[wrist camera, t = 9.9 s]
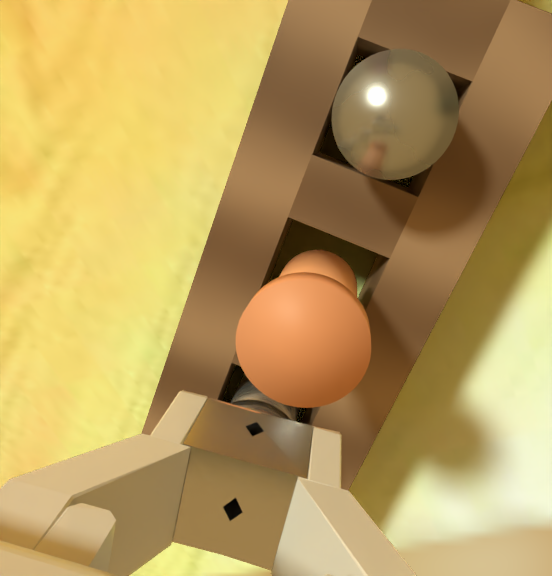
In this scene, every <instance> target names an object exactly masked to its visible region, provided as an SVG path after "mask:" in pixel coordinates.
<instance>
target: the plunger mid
mask: <svg viewBox="0 0 552 576" xmlns="http://www.w3.org/2000/svg"><path fill="white" fill-rule="evenodd" d="M236 352H237V356H238V360H239V363H240V365H241V368H242V370H243V371H244V373H245V375H246V376H247V378H248V379H249V380H250V382H251V383H252V384H253V385H254V386H255V387H256V388H257V389H258V390H259V391H261V392H262V393H263V394H265V395H266V396H268V397H269V398H271V399H273V400H275V401H277V402H279V403H282V404H285V405H289V406H293V407H301V408H313V407H320V406H324V405H328V404H331V403H333V402H336V401H338V400H340V399H341V398H343V397H345V396H346V395H347V394H349V393H350V392H351V391H352V390H353V389H354V388H355V387H356V386H357V385H358V384H359V382H360V381H361V380H362V378H363V376H364V375H365V373H366V370H367V368H368V365H369V362H370V357H371V334H370V325H369V320H368V317H367V314H366V311H365V309H364V307H363V305H362V304H361V302H360V301H359V299H358V298H357V282H356V278H355V275H354V273H353V271H352V269H351V267H350V266H349V265H348V263H347V262H346V261H345V260H344V259H342V258H341V257H340V256H338V255H336V254H334V253H332V252H329V251H325V250H310V251H305V252H302V253H300V254H298V255H296V256H295V257H293V258H292V259H291V260H290V261H289V262H288V263H287V264H286V266H285V267H284V269H283V270H282V272H281V274H280V276H279V277H278V278H276V279H274V280H272V281H270V282H269V283H267V284H266V285H264V286H263V287H262V288H261V289H260V290H259V291H258V292H257V293H256V294H255V295H254V297H253V298H252V300H251V301H250V303H249V304H248V306H247V307H246V309H245V310H244V312H243V314H242V316H241V318H240V320H239V323H238V326H237V331H236Z"/></svg>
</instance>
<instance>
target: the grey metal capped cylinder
mask: <svg viewBox="0 0 552 576" xmlns="http://www.w3.org/2000/svg"><path fill="white" fill-rule="evenodd" d="M230 404H233V405H237V406H240V407H244V408H247V409H250V410H254V411H257V412H260V413H263V414H267V415H271V416H275V417H279V418H283V419H287V420H291V421H295V422H296V420H297V415H298V410H299V407H293V406H289V405H285V404H282V403H279V402H277V401H275V400H273V399H271V398H269V397H268V396H266V395H265V394H263V393H262V392H261V391H259V390H258V389H257V388H256V387H255V386H254V385H253V384H252V383H251V382H250V380H249V379H248V378H247V376H246V375H245V373H244V375H243V377H242V380H241V382H240V384H239V386H238V388H237V390H236V392H235V394H234V396H233V398H232V400H231V403H230Z"/></svg>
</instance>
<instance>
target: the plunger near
mask: <svg viewBox="0 0 552 576" xmlns="http://www.w3.org/2000/svg"><path fill="white" fill-rule="evenodd" d="M458 117H459V103H458V96H457V92H456V89H455V86H454V84H453V82H452V80H451V78H450V76H449V75H448V73H447V72H446V71H445V70H444V68H443V67H442V66H441V65H440V64H439V63H438V62H436V61H435V60H434V59H432V58H431V57H429V56H427V55H425V54H423V53H420V52H417V51H414V50H408V49H391V50H386V51H382V52H378V53H376V54H374V55H371V56H369V57H368V58H366V59H364V60H363V61H361V62H360V63H359V64H357V65H356V66H355V67H354V68H353V69H352V70H351V71H350V72H349V73H348V75H347V76H346V77H345V79H344V80H343V82H342V83H341V85H340V87H339V89H338V91H337V93H336V96H335V100H334V103H333V109H332V129H333V134H334V138H335V141H336V144H337V146H338V148H339V150H340V151H341V153H342V154H343V156H344V157H345V158H346V160H347V161H348V162H349V163H350V164H351V165H352V166H353V167H355V168H356V169H357V170H359V171H360V172H362V173H364V174H366V175H368V176H371V177H374V178H378V179H384V180H396V179H403V178H408V177H411V176H414V175H416V174H418V173H420V172H422V171H424V170H426V169H427V168H429V167H430V166H431V165H433V164H434V163H435V162H436V161H437V160H438V159H439V158H440V157H441V156H442V155H443V153H444V152H445V151H446V149H447V148H448V146H449V144H450V143H451V141H452V139H453V136H454V134H455V131H456V127H457V124H458Z"/></svg>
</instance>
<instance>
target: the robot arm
mask: <svg viewBox="0 0 552 576" xmlns="http://www.w3.org/2000/svg"><path fill="white" fill-rule="evenodd" d="M172 542H175V543H179V544H183V545H187V546H191V547H195V548H199V549H203V550H206V551H210V552H214V553H218V554H222V555H225V556H228V557H231V558H234V559H237V560H240V561H243V562H247V563H250V564H253V565H256V566H259V567H262V568H265V569H268V570H271V574H272V576H417V575H416V574H415V572H414V571H413V570H412V569H411V567H410V566H409V565H408V564H407V562H406V561H405V560H404V559H403V558H402V556H401V555H400V554H399V552H398V551H397V550H396V549H395V548H394V546H393V545H392V544H391V543H390V541H389V540H388V539H387V538H386V536H385V535H384V534H383V533H382V531H381V530H380V529H379V528H378V526H377V525H376V524H375V523H374V521H373V520H372V519H371V518H370V516H369V515H368V514H367V513H366V511H365V510H364V509H363V508H362V506H361V505H360V504H359V503H358V501H357V500H356V499H355V498H354V496H353V495H352V494H351V493H350V492H349V491H348V490H344V489H341V434H340V432H337V431H332V430H328V429H324V428H319V427H315V426H312V425H308V424H303V423H299V422H295V421H291V420H287V419H283V418H279V417H275V416H271V415H267V414H263V413H260V412H257V411H254V410H250V409H247V408H244V407H240V406H237V405H233V404H230V403H226V402H223V401H220V400H216V399H213V398H208V397H207V396H204V395H200V394H196V393H192V392H188V391H184V390H183V391H180V392H179V393H178V394H177V396H176V397H175V399H174V400H173V402H172V403H171V405H170V406H169V408H168V409H167V411H166V412H165V414H164V415H163V417H162V418H161V420H160V421H159V423H158V424H157V426H156V427H155V429H154V430H153V432H152V433H151V435H146V434H139V435H136V436H133V437H131V438H128V439H125V440H122V441H119V442H116V443H113V444H110V445H107V446H104V447H102V448H99V449H96V450H93V451H90V452H87V453H84V454H81V455H78V456H75V457H72V458H70V459H67V460H64V461H61V462H58V463H55V464H52V465H49V466H46V467H43V468H41V469H38V470H35V471H32V472H29V473H26V474H23V475H20V476H17V477H14V478H12V479H9V480H8V481H7V482H6V483H5V484H4V485H3V486H2V487H1V488H0V576H129V575H130V574H132V573H133V572H134V571H136V570H137V569H139V568H140V567H141V566H143V565H144V564H145V563H147V562H148V561H149V560H151V559H152V558H154V557H155V556H156V555H158V554H159V553H160V552H162V551H163V550H164V549H166V548H167V547H168V546H170V545H171V543H172ZM222 552H223V553H222Z"/></svg>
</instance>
